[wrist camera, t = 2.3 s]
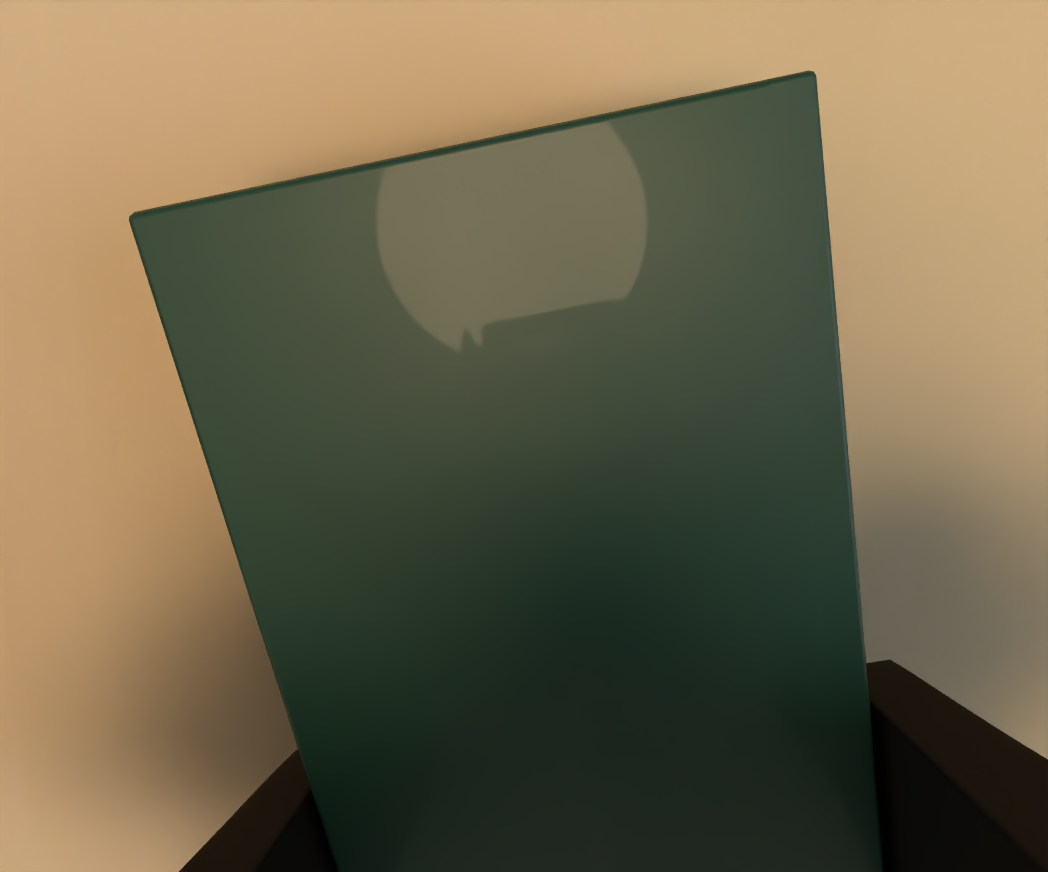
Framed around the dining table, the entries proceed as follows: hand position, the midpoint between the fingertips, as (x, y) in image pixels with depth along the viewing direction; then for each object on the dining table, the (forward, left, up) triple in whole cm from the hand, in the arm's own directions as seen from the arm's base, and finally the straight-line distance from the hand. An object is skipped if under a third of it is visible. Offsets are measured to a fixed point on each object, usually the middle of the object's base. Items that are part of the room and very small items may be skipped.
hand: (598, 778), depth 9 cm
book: (0, 0, -2) cm, 2 cm away
